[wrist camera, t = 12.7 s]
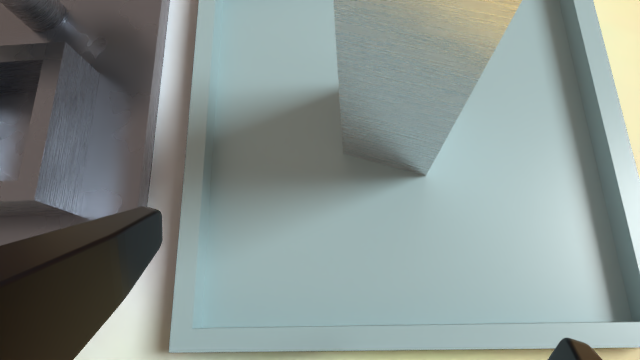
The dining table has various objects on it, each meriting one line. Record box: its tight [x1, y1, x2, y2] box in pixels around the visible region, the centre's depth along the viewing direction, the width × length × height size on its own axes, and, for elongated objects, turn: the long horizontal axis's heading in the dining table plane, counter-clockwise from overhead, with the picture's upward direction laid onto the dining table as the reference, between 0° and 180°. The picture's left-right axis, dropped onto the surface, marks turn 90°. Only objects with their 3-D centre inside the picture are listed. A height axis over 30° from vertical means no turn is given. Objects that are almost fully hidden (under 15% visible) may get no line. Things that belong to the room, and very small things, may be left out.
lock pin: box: [333, 0, 522, 176], centre depth 12 cm, size 4×4×12 cm
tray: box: [169, 0, 640, 353], centre depth 18 cm, size 18×18×2 cm
